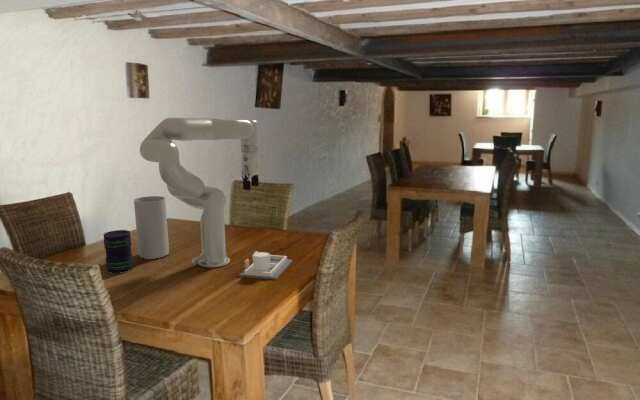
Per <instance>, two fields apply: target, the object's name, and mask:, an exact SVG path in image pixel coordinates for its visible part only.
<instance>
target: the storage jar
mask: <svg viewBox="0 0 640 400" xmlns="http://www.w3.org/2000/svg"><path fill="white" fill-rule="evenodd" d="M103 245H104V246H103V247H104V250H105V256H106V257H105V265H106V272H107V271H108V272H111V273H120V272H125V271H128V270H131V269H132V268H133V269H134V266H133V265H134V258H133V254H132V247H131V246H132V238H131V230H130V231H129V230H126V229H119V230H118V229H117V230H111V231H107V232H105V233H103ZM133 269H132V270H133ZM132 270H131V271H132ZM108 272H107V273H108ZM111 273H110V274H111ZM120 274H121V273H120Z"/></svg>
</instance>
